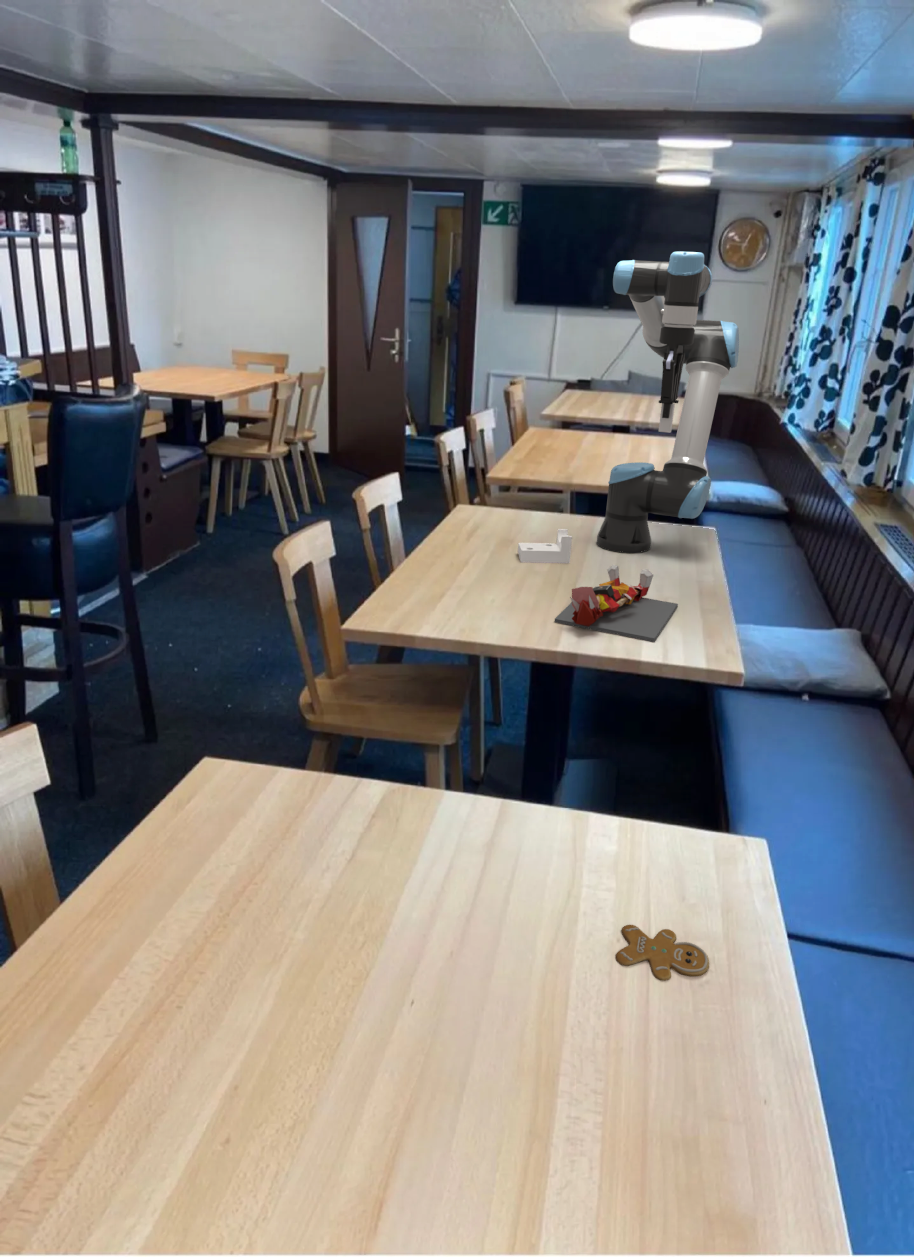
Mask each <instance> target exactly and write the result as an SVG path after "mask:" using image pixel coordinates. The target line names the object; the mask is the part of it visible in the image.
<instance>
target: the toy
mask: <svg viewBox="0 0 914 1257" xmlns="http://www.w3.org/2000/svg"><path fill="white" fill-rule="evenodd" d="M619 567H620V566H619V565H616V564H611V565H610V566H609V567H608V568H607V569H606V570H607V574H608V578H609V581H606V582H603V583H600V584H598V585H597V586H594V587H593V586H579V587H574V588H572V589H571V596H569V599H570V600H571V602H572V606H573V607H574V609H575V611H574V613H573V615H574V616H573V617H572V620H573V621H574V622H575V623H576V624H579V625H583V626H588V627H589V626H590V625H591V624H593V623H594V622H595V621H596V620H597V619H598V618H599V617H601V616H603V613H602V612H605V611H608V612H615V611H616V610H617V609H618V607H620V606H622V605H623V604H631V603H632V601H633V600H635V601H639V600H640V598H641V597H643V598H644V597H645V596H647V594H648V592H649V590H650V587H651V584H652V580H653V579H654V578H653V577H654V573H653V572H652V571H650V570H649V569H648V568H645V569H641V571H640V574H639V583H638V585H636V586H635V585H634V586H633V585H630V586H629V585H628V584H626V583H624V582H621V579H620V570H619V569H620V568H619Z"/></svg>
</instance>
